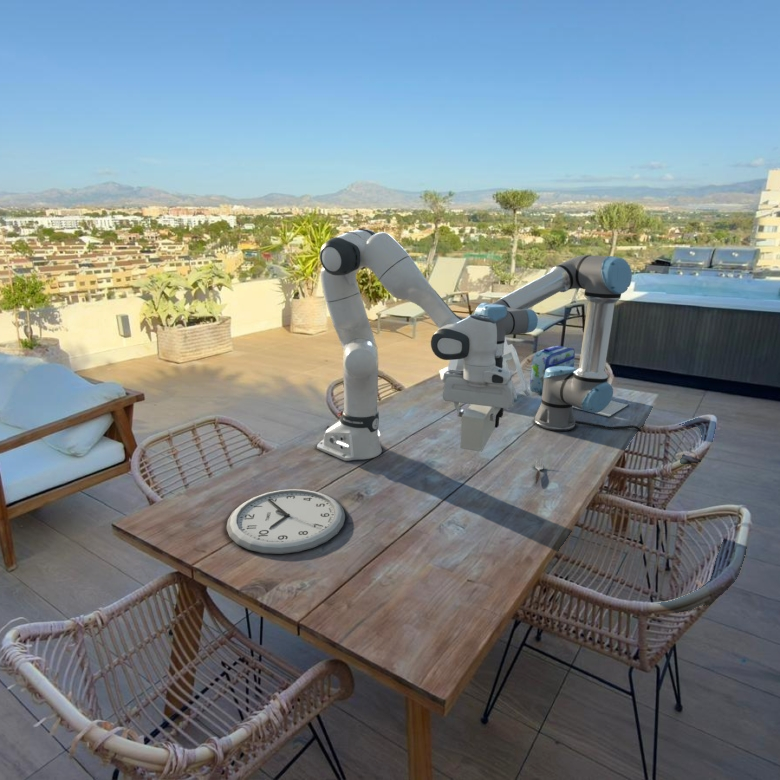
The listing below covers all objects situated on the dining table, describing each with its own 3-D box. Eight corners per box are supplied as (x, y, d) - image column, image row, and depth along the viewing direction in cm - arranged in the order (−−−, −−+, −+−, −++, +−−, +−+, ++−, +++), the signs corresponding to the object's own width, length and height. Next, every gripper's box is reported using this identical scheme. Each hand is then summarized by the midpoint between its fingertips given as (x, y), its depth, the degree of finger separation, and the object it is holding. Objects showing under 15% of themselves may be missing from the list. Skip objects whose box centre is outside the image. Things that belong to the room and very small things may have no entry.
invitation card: (608, 416, 214) (573, 407, 224) (608, 416, 214) (573, 408, 224) (628, 404, 229) (594, 396, 238) (628, 405, 229) (594, 397, 238)
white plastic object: (461, 429, 252) (437, 405, 227) (444, 352, 274) (420, 323, 250) (535, 404, 240) (518, 377, 215) (510, 326, 262) (492, 293, 237)
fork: (531, 484, 156) (531, 478, 156) (536, 462, 170) (536, 457, 170) (540, 485, 155) (541, 479, 155) (544, 464, 170) (545, 458, 169)
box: (478, 420, 174) (480, 391, 171) (497, 423, 172) (500, 394, 169) (459, 448, 152) (461, 415, 149) (481, 451, 150) (484, 418, 147)
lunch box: (546, 399, 235) (551, 353, 228) (525, 393, 242) (530, 349, 236) (574, 387, 252) (579, 345, 246) (553, 383, 260) (558, 341, 253)
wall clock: (345, 545, 122) (213, 550, 119) (345, 551, 122) (214, 556, 120) (344, 484, 150) (238, 487, 148) (345, 490, 151) (239, 492, 148)
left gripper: (440, 371, 149) (438, 417, 153) (513, 379, 141) (509, 426, 146) (446, 366, 154) (444, 410, 158) (516, 373, 147) (513, 419, 151)
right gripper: (457, 354, 162) (453, 424, 169) (520, 361, 155) (514, 433, 162) (463, 349, 169) (459, 416, 176) (524, 355, 162) (518, 425, 169)
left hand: (476, 418), depth 152 cm, fingers open, 8 cm apart
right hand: (485, 424), depth 169 cm, fingers closed on box, 6 cm apart
